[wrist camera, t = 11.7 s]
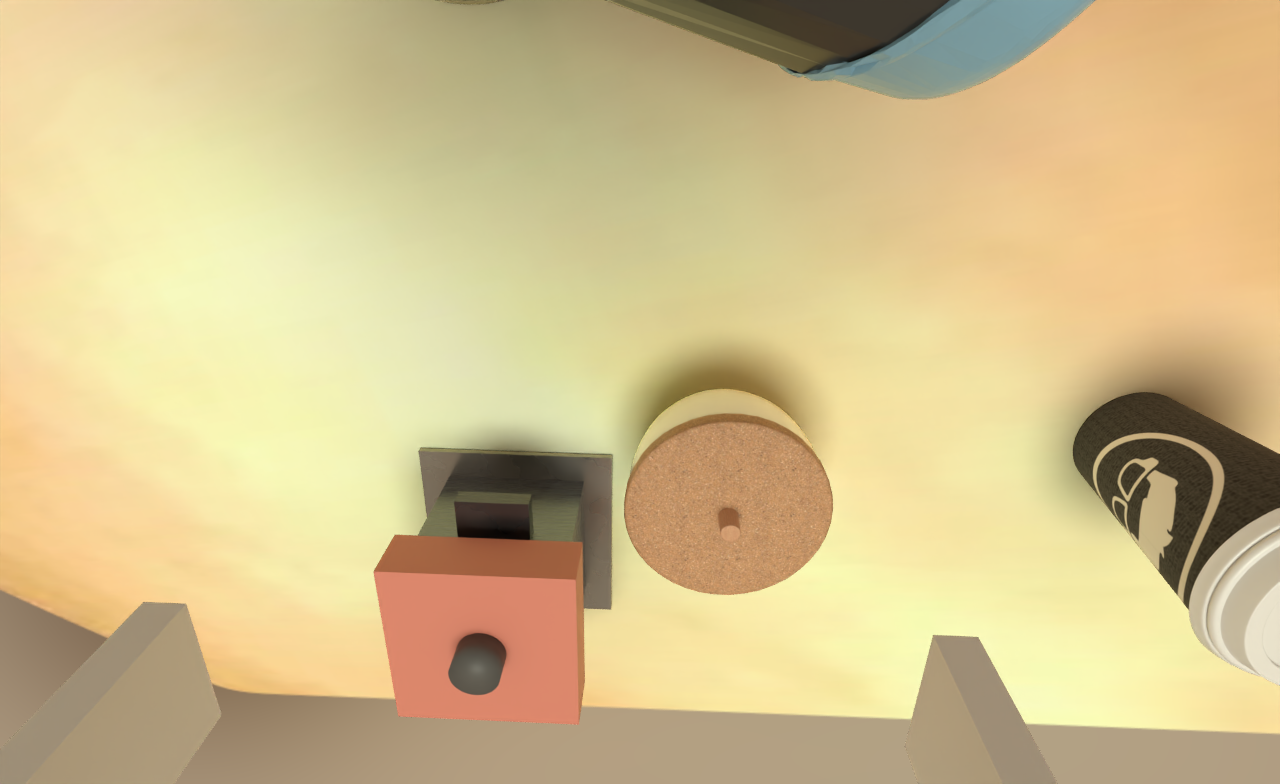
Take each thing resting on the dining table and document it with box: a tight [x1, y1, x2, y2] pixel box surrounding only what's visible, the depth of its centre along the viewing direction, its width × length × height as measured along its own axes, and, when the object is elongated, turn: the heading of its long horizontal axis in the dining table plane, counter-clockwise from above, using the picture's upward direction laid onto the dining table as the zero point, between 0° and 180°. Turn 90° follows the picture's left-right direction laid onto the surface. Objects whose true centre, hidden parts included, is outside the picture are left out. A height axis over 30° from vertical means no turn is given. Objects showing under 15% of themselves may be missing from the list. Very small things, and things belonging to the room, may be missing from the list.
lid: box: [374, 535, 585, 724], centre depth 37 cm, size 10×10×5 cm
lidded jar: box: [624, 389, 833, 595], centre depth 39 cm, size 11×11×9 cm
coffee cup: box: [1073, 393, 1280, 685], centre depth 35 cm, size 10×10×15 cm
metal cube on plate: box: [418, 448, 612, 609], centre depth 43 cm, size 13×12×8 cm
